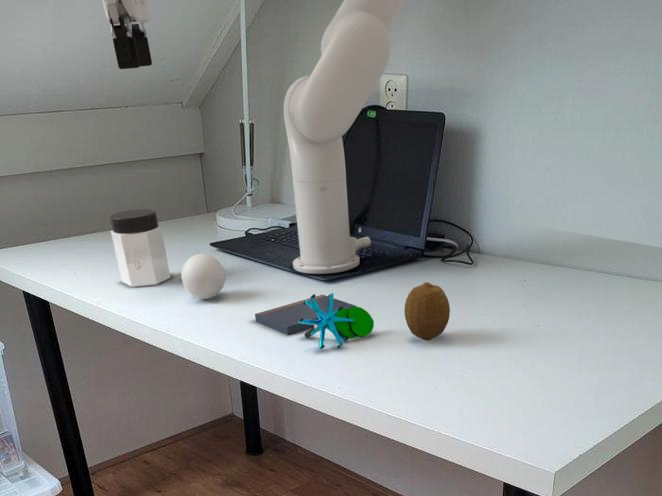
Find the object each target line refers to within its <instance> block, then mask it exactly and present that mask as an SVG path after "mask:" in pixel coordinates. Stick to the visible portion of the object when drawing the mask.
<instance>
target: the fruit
mask: <svg viewBox="0 0 662 496" xmlns="http://www.w3.org/2000/svg"><path fill="white" fill-rule="evenodd" d="M450 307H451V306H450V302H449V299H448V296H447V295H446V292H445V291H444V289H443V288H442V287H441V286H439V285H435V284H432V283H430V282H428V281H426V282H424V283H422V284H421V285H417V286H414V287H413V288H412V289H411V290H410V292H409V293H408V295H407V297H406V299H405V303H404V319H405V322H406V325H407V327H408V329H409V331H410V333H411V335H413V336H415V337H417V338H418V339H421V340H423V341H431V340H433V339H434V338H437V337H439V336H440V335H442V334H443V333H444V331H445V329H446V327H447V326H448V323H449V320H450V313H451V308H450Z"/></svg>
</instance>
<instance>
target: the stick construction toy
mask: <svg viewBox="0 0 662 496" xmlns="http://www.w3.org/2000/svg"><path fill="white" fill-rule="evenodd" d="M316 296H317V295H316V294H315V293H314V294H312V295H311V296H310V297H309V298H310V299H311V301H312V303H311V302H310V301H308V300H306V299H305V300H306V301H305V302H304V303H303V304H304V305H306V304H307V305H309V306H310V307H311V308H312V309H313V310H315V311H316V313H317V316H318V318H319V320H303V318H301V319H300V320H299V321H298V323H302V324H310V325H314V327H311V328H309V330H308V331H307V332H306V333H304V337H305V339H309V338H312V337H313V336H314V335H316V334H317V333H318V332H319V345H318V348H319V350H320V351H321V350H322V349H324V348H325V347H326V346H325V345H324V341H325V336H326V330H328V331H329V332H331V334H333V336H334V339H335V340H336V342H337V346H336V347H337V349H340V348H341V347H343V346H344V345H343V342H347V341H348V340H354V339H356V338H365V337H367V336H369V335H370V334H371V333H372V332H373V329H374V326H375V321H374V319H373V317H372V315H371V314H370V313H369V312H368V311H367V310H365V309H364V308H362V307H360V306H357V307H352V308H351V309H348V308H343V306H341V307H340V308H338V309H337V310H336V311H334V312H333V298H334V293H333V292H331V293H329V294H328V295H327V296H328V297H329V305H328V311H327V314H326V313H325V312H324V311H322V310H321V309H319V307H318V305H317V303H316V301H315V299H314V297H316ZM332 312H333V313H332Z"/></svg>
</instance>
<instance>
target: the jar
mask: <svg viewBox="0 0 662 496" xmlns="http://www.w3.org/2000/svg"><path fill="white" fill-rule="evenodd" d="M109 220H110V225H111V231H110V235H111V239H112V243H113V248H114V252H115V256H116V257H115V258H116V261H117V266H118V271H119V275H120V279H121V283H123V284H125V285H127V286H129V287H131V288H135V287H146V286H147V287H148V286H156V285H158V284H161V283H163V282H165V281H167V280H169V279H171V271H170V267H169V261H168V257H167V252H166V246H165V245H166V244H165V241H164V240H165V239H164V235H163V230H162V227H161V226H159V222H158V215H157V211H156V210H153V209H148V208H146V209H145V208H144V209H143V208H140V209H139V208H137V209H129V210H124V211H119V212H115V213H113V214H111V215H110V216H109Z"/></svg>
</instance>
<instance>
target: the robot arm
mask: <svg viewBox="0 0 662 496" xmlns="http://www.w3.org/2000/svg"><path fill="white" fill-rule="evenodd" d="M101 1H102V5H103V10H104V13H105V17H106V20H107V21H108V22H109V25H110V33H111V37H112V42H113V49H114V53H115V57H116V62H117V66H118V69H120V70H129V69H138V68H140V67H150V66H153V61H152V54H151V50H150V45H149V40H148V39H149V38H148V37H147V31H146V28H145V25H144V24H146V23H148V22H149V21H150V19H151V18H150V13H149V12H150V11H149V7H148V3H147V0H101ZM405 1H406V0H343V1H342V3H341V5H339V8H338V10H337V11H336V13H335V15H334V16H333V18H332V19H331V21H330V23H329V24H328V26H327V27H326V28H325V30H324V33H323V35H322V38H321V42H320V54H321V56H320V58H319V60H318V61H317V63H316V65H315V67H314V68H313V70H312V72H311V74H310V75H304V76H302V77H299V78H298V79H296V80H295V81H294V82H293V83H292V84H291V85H290V86H289V88H288V89H287V91H286V94H285V96H284V100H283V119H284V127H285V133H286V137H287V143H288V149H289V157H290V165H291V166H290V167H291V174H292V186H293V187H292V188H293V195H294V206H295V216H296V217H295V218H296V226H297V236H298V246H299V255H300V256H298V257H297V258H295V259H294V260H293V261H292V268H293V270H294V271H296V272H299V273H301V274H308V275H328V274H329V275H330V274H338V273H343V272H346V271H347V272H348V271H351V270H353V269H355V268H357V267H359V265H360V262H361V260H360V256H359V255H358V254H357V252H358V251H359V249H366V248H370V247H371V244H372V241H371V238H370V237H369V236H364V237H360V238H358V239H357V238H356V237H353V236H351V233H350V218H349V202H348V187H347V173H346V172H347V171H346V159H345V150H344V149H345V148H344V142H343V136H344V135H345V134H346V133H347V132H348V131H349V130H350V128H351V127H352V126H353V124H354V122H355V121H356V119H357V118H358V116H359V115H360V113H361V111H362V109H363V108H364V106H365V105H366V103H367V101H368V100H369V98H370V96H371V95H372V94H373V91H374V89H375V88H376V86H377V84H378V83H379V81H380V79H381V78H382V76H383V74H384V72H385V70H386V68H387V66H388V63H389V59H390V55H391V37H390V34H389V32H390V31H391V28H392V26H393V24H394V22H395V20H396V19H397V17H398V15H399V13H400V11H401V9H402V7H403V5H404V3H405Z"/></svg>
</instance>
